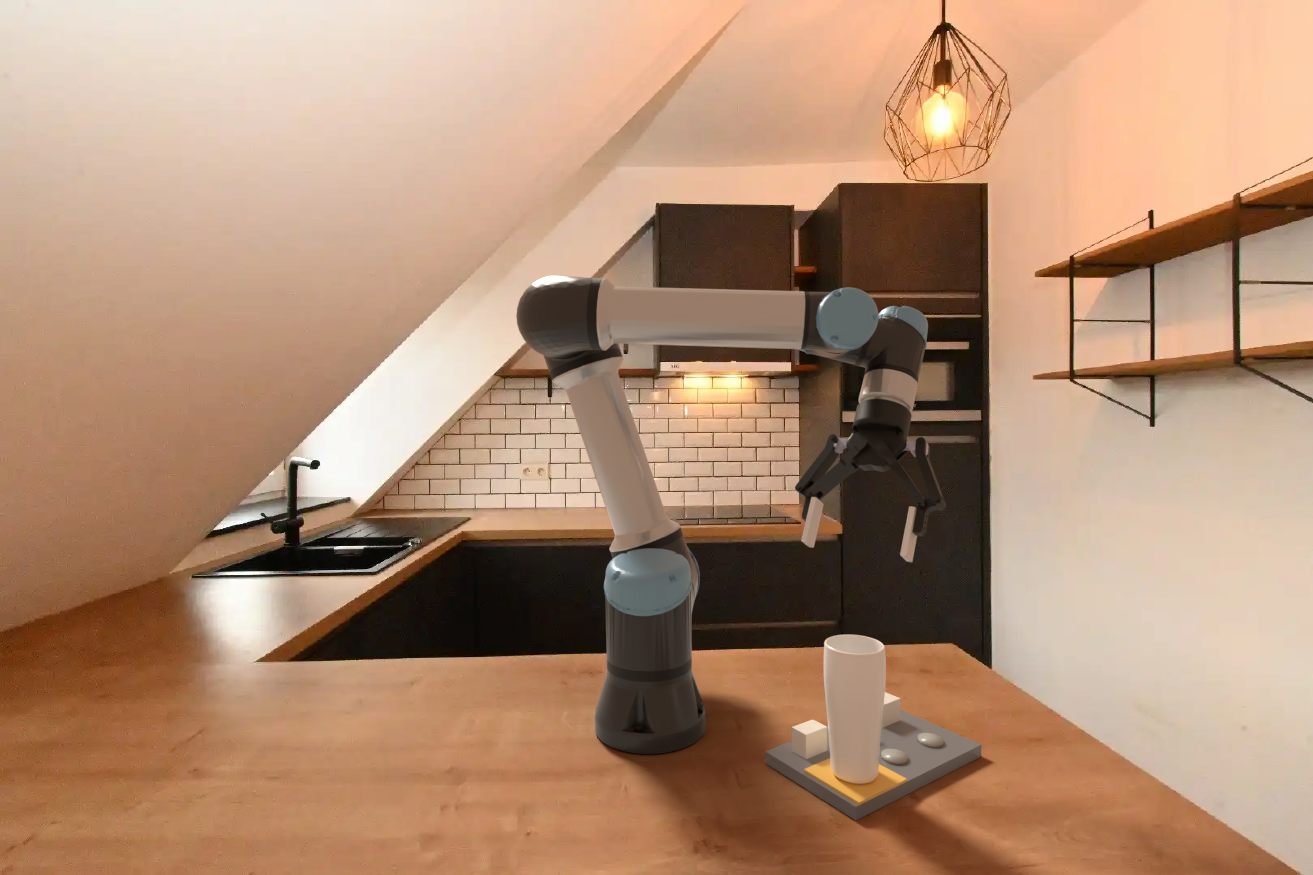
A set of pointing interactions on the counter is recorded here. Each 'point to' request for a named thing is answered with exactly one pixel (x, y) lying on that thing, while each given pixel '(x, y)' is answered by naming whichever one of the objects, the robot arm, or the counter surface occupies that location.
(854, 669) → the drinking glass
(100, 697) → the counter surface
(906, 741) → the game board
